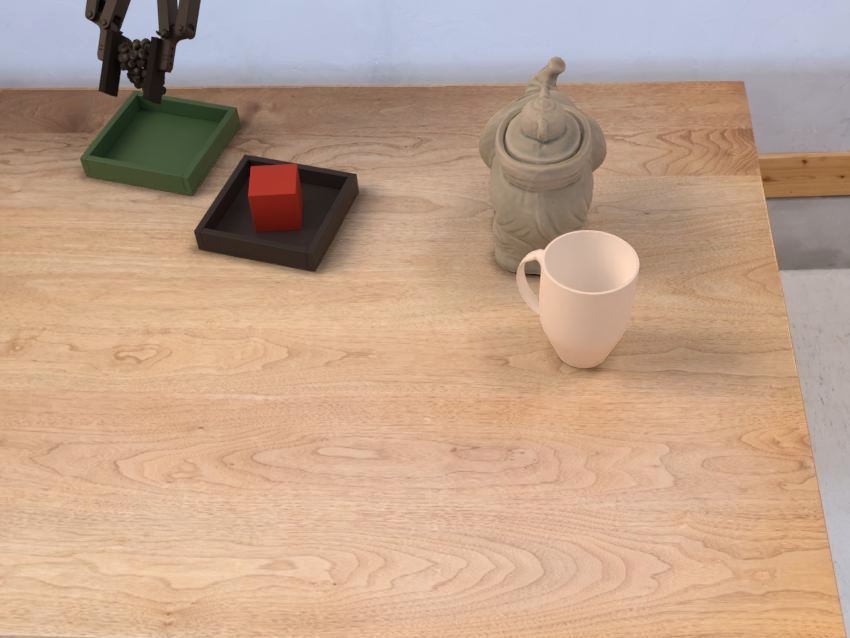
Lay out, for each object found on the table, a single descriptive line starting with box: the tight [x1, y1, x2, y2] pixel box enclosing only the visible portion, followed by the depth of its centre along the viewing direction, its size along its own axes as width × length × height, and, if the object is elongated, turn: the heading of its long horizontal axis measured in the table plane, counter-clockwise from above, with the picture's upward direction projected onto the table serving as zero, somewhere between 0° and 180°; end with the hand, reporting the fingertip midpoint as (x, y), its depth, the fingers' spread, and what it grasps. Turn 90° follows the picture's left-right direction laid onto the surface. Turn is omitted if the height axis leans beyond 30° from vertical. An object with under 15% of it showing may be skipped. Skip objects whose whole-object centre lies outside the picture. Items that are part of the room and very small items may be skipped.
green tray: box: [79, 90, 242, 197], centre depth 131 cm, size 14×14×3 cm
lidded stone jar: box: [478, 56, 608, 276], centre depth 114 cm, size 16×15×19 cm
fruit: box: [117, 36, 167, 96], centre depth 124 cm, size 5×4×8 cm
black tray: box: [193, 154, 360, 273], centre depth 123 cm, size 14×14×3 cm
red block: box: [248, 164, 303, 232], centre depth 121 cm, size 5×5×5 cm
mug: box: [515, 229, 640, 369], centre depth 106 cm, size 12×9×12 cm
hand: (129, 97), depth 122 cm, fingers closed on fruit, 5 cm apart
